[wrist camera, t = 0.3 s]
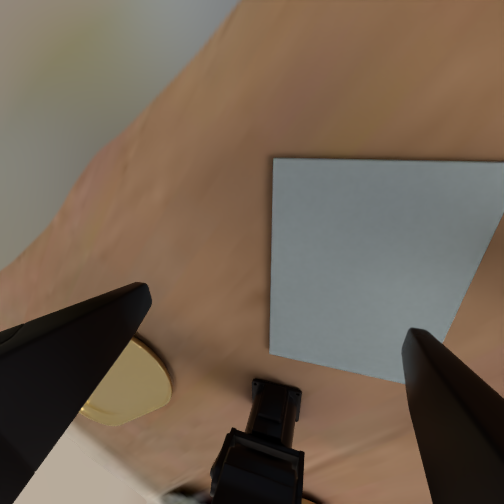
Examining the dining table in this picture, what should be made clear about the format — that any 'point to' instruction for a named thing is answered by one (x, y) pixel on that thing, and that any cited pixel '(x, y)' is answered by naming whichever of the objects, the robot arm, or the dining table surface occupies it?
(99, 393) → the serving platter
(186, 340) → the dining table surface
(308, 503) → the sculpture
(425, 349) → the robot arm
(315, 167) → the mat
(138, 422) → the dining table surface
